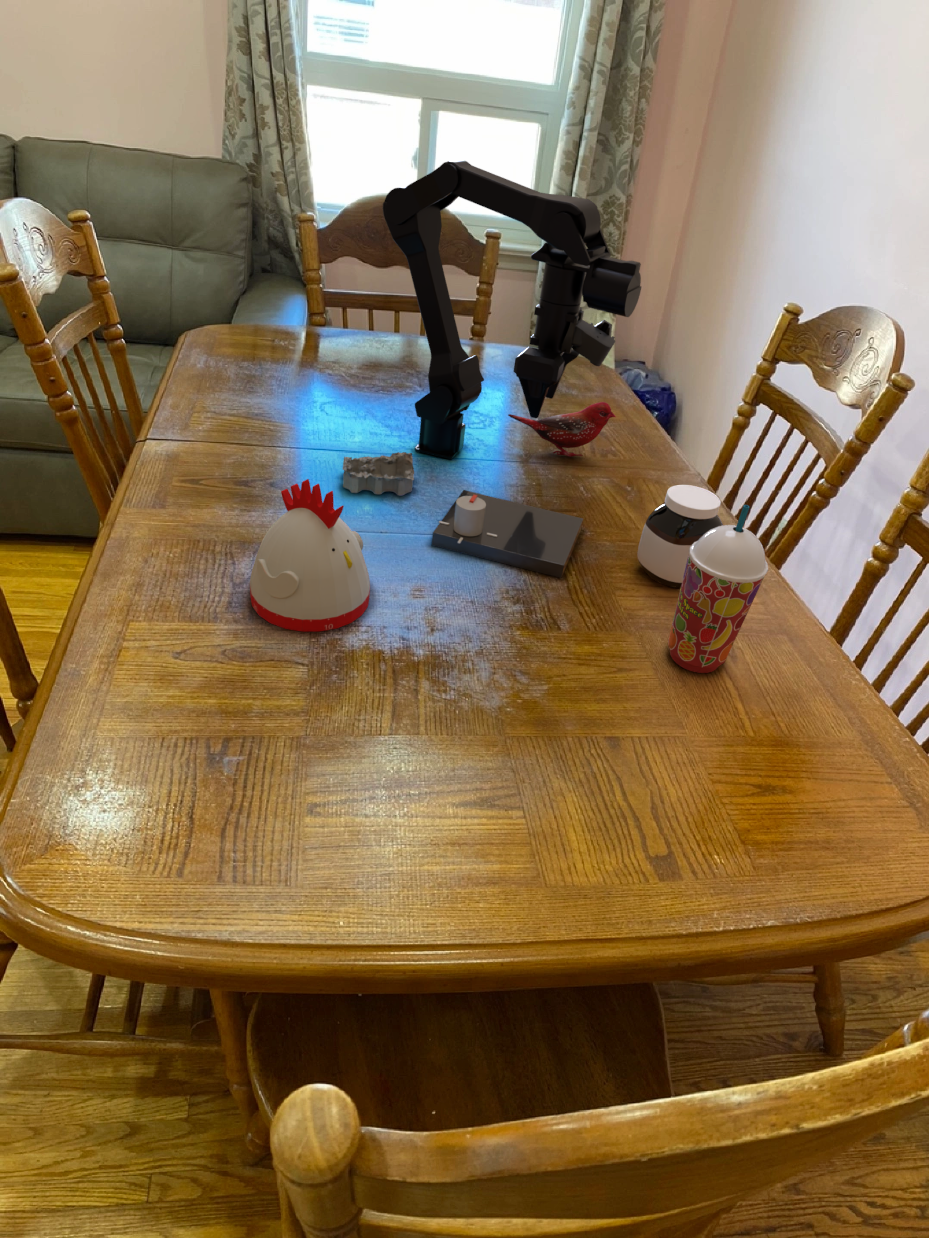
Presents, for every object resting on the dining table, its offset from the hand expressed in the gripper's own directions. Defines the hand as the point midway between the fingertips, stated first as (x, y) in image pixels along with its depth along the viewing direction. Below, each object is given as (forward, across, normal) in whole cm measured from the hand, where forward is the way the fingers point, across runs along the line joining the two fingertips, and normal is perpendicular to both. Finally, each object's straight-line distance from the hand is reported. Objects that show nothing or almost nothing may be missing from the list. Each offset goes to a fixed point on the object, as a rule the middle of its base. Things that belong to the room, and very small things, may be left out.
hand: (541, 407), depth 123 cm
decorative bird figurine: (+12, +12, -1) cm, 17 cm away
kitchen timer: (+12, -45, +15) cm, 49 cm away
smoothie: (+12, -36, -30) cm, 48 cm away
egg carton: (+12, -14, +20) cm, 27 cm away
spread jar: (+12, -16, -24) cm, 31 cm away
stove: (+12, -19, -2) cm, 23 cm away
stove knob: (+10, -24, +3) cm, 26 cm away
